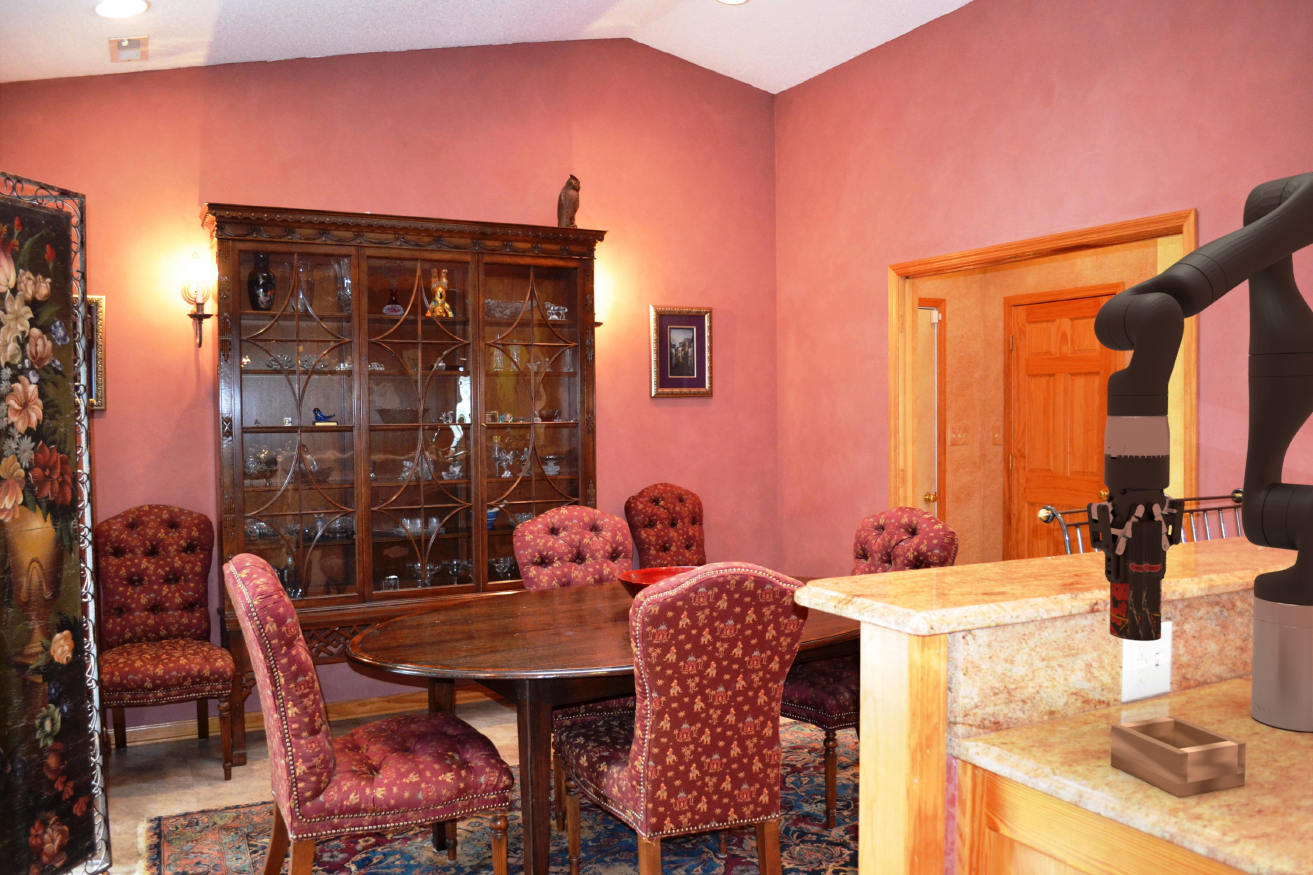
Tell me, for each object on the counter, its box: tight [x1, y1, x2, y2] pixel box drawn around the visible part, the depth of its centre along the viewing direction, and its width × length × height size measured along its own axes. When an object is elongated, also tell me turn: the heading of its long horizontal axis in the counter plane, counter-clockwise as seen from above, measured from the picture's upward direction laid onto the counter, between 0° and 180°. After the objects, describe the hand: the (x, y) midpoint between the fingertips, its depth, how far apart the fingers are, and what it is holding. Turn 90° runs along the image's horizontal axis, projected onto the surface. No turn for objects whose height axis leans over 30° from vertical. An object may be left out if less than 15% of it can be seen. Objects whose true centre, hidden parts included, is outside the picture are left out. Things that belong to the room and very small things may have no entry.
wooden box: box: [1110, 715, 1247, 798], centre depth 113 cm, size 10×10×5 cm
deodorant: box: [1109, 520, 1163, 642], centre depth 122 cm, size 6×6×15 cm
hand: (1135, 580), depth 122 cm, fingers closed on deodorant, 6 cm apart
